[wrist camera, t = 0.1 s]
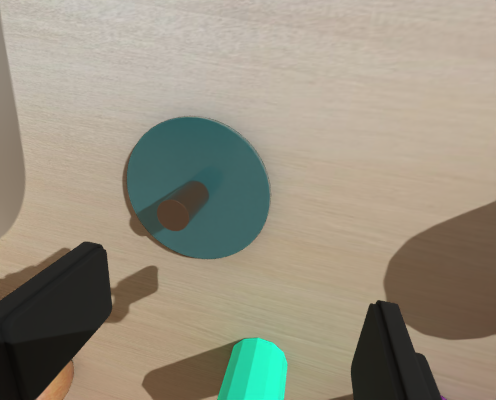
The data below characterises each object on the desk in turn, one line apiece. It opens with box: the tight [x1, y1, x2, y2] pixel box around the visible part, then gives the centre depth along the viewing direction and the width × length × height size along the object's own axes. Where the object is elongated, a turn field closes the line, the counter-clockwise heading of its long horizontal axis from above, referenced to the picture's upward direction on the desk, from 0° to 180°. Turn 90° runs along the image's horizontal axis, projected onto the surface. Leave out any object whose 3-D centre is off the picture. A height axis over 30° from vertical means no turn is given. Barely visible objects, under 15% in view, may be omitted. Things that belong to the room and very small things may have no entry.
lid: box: [127, 116, 271, 259], centre depth 24 cm, size 12×12×6 cm
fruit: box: [36, 361, 74, 400], centre depth 36 cm, size 8×7×8 cm
